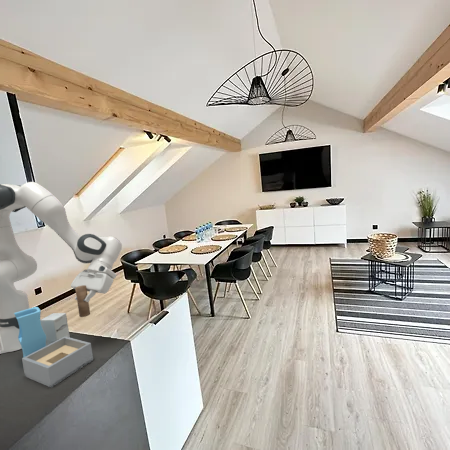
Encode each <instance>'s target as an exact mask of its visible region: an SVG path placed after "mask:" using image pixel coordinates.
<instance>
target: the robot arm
mask: <svg viewBox="0 0 450 450" xmlns="http://www.w3.org/2000/svg"><path fill="white" fill-rule="evenodd" d="M23 209H28V210H29V211H30V212H31V213H32V214H33V215H34V216H36V217H37V218H38V219H39V220H40V221H42V222H43V223H44V224H45V225H47V226H48V228H50V229H51V230H52V231H54V232H55V233H56V234H57V236H59V237H60V238H61V240H63V241H64V242H65V243H66V244H67V246H68V247H70V249H71V250H72V252H73V254H74V257H75V259H76V260H77V261H78V262H80V263H81V264H89V265H88V267H87V268H86V269H83V270H82V271H80V272H79V273H78V274H76V276H75V278H74V279H73V281H72V282H71V284H70V288H73V290H75V288H76V287H78V286H82V285H86V288H87V292H88V293H87V296H85V297H84V299H83V301H85V302H89V303H90V300H91V299H92V298H93V297H94V296H95V295H96V293H97V294H103V295H104V294H107V293H108V292H109V290H110V289H111V287H112V285H113V283H114V279H116V277H117V273H115V272H114V271H113V270H112V268H113V265H114V264H115V262H117V259H118V258H119V256H120V254H121V251H122V248H123V244H122V243H121V241H120V240H119V239H118V238H117V237H114V236H112V235H109V236H99V235H95V234H94V233H93V234H92V233H85V234H83V235H80V234H79V233H78V232H77V231H76V230H75V229H74V228H73V227H72V226H71V224H70V222H69V219H68V216H67V212H66V209H65V207H64V205H63V203H62V202H61V201H60V200H59V199H58V198H57V197H56V196H55V195H54V194H53V193H52V192H51V191H49V190H48V189H47V188H45V187H44V186H42V185H41V184H40V183H38V182H35V181H28V182H25V183H23V184H21V185H18V184H12V183H5V184H3V183H1V184H0V354H1V355H2V354H5V353H11V352H14V351H19V350H22V347H21V344H20V342H19V339H18V336H19V323H18V320H17V318H16V316H15V314H14V313H16V312H19V311H23V310H26V309H30V303H29V302H30V301H29V297H28V294H27V293H26V292H25V291H22V290H18V289H17V288H16V287H15V284H14V283H17V282H18V281H19V282H20V281H22V280H25V279H27V278H28V277H30V276H32V275H33V274H35V272H36V271H37V269H38V263H37V261H36V259H35V258H34V257H33V256H31V255H29V254H27V253H26V252H24V250H23V249H22V248H21V247H20V245H18V242H17V240H16V237H15V235H14V231H13V227H12V222H11V219H10V215H11V213H17V212H19V211H20V210H23ZM74 300H76V301H77V296H75V297H74Z"/></svg>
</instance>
